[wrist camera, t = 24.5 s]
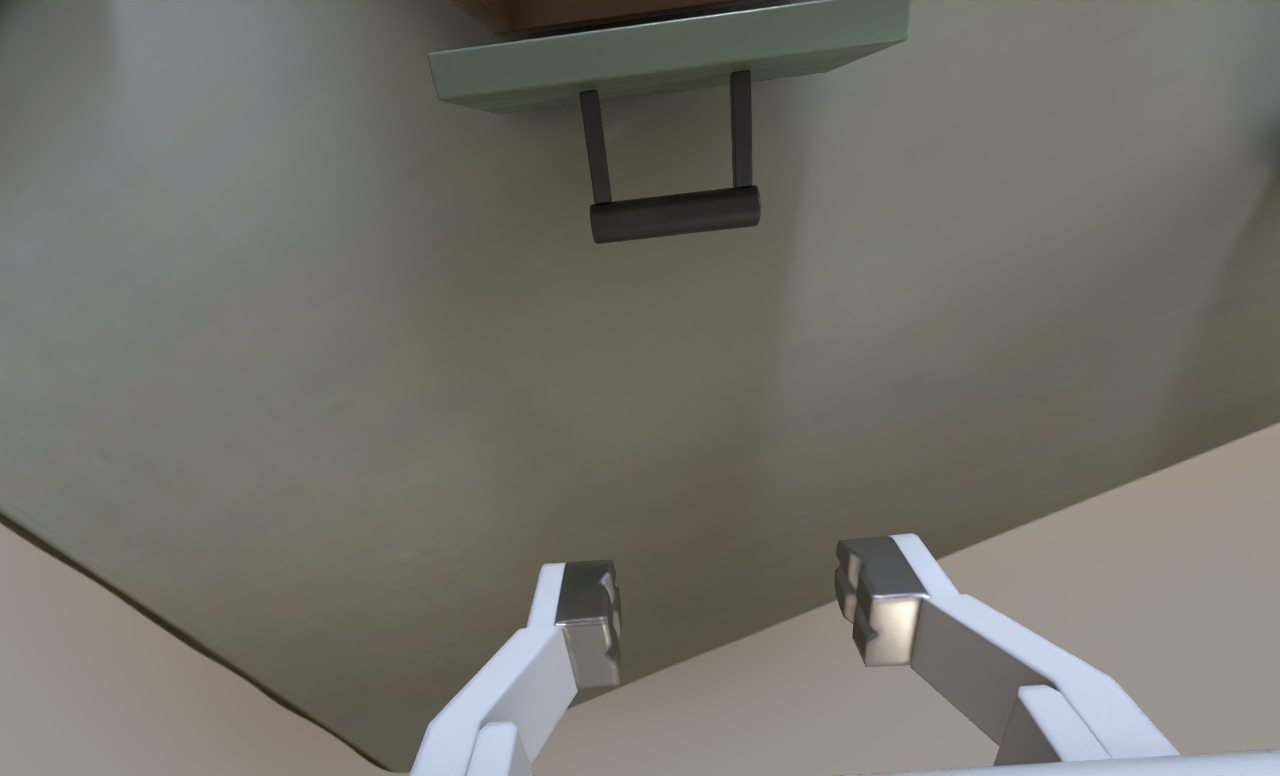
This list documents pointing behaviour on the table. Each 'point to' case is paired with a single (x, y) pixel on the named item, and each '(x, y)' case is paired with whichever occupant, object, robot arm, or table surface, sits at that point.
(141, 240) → the table surface
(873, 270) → the table surface
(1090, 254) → the table surface
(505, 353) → the table surface
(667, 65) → the drawer
